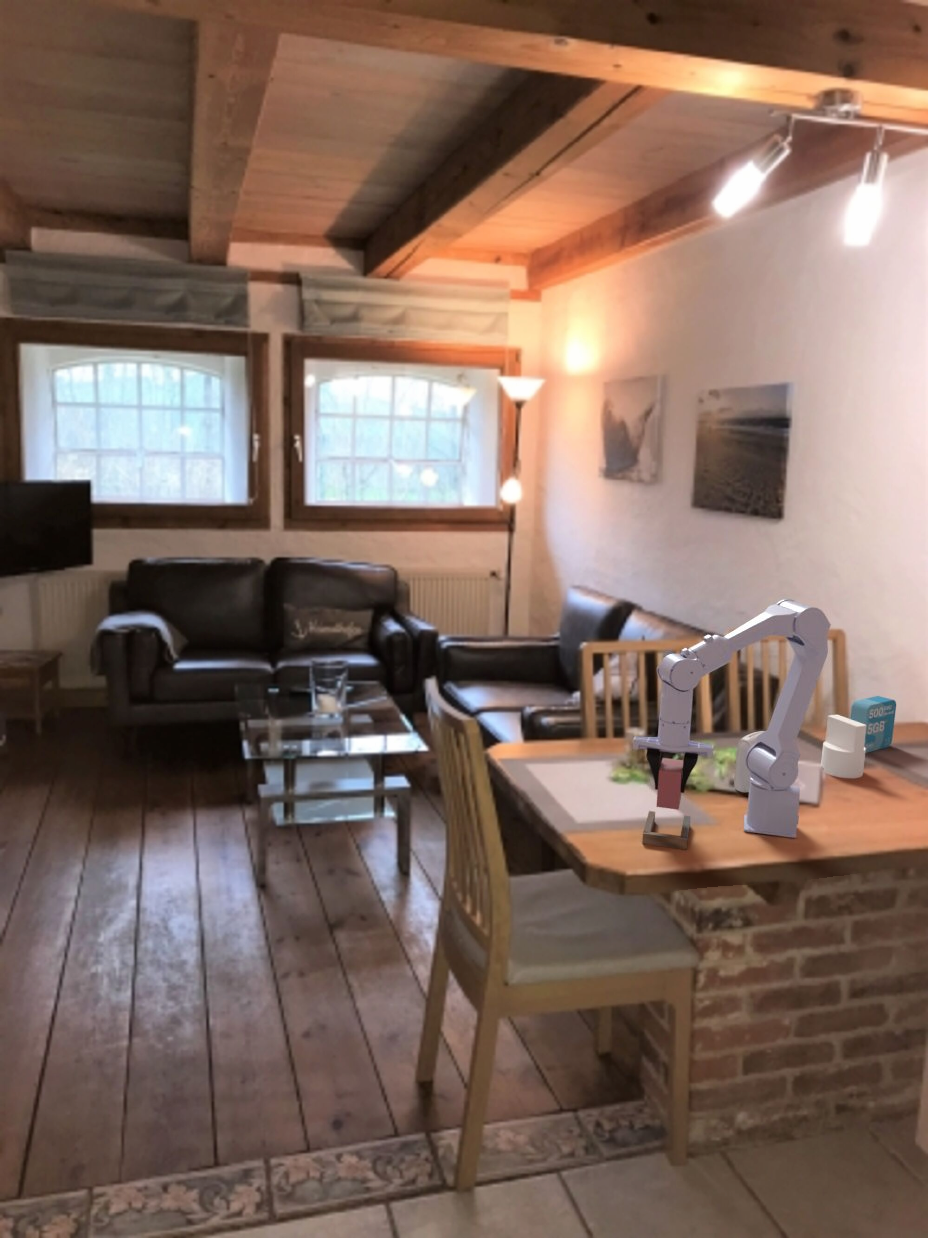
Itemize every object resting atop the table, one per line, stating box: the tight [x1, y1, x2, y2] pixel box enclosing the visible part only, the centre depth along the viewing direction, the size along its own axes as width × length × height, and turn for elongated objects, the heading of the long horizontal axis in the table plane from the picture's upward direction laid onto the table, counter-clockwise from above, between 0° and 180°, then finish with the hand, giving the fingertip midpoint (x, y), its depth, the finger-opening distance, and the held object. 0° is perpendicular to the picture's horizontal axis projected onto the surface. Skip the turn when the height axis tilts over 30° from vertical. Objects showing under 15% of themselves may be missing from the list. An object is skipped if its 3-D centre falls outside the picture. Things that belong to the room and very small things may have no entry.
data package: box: [849, 695, 897, 754], centre depth 244 cm, size 12×4×12 cm, turn 125°
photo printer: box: [733, 730, 766, 794], centre depth 214 cm, size 10×4×12 cm, turn 123°
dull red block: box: [656, 757, 683, 811], centre depth 188 cm, size 4×8×7 cm, turn 164°
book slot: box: [641, 810, 691, 851], centre depth 189 cm, size 8×11×2 cm
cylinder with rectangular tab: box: [820, 714, 867, 779], centre depth 226 cm, size 9×9×12 cm
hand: (669, 789), depth 188 cm, fingers closed on dull red block, 4 cm apart
